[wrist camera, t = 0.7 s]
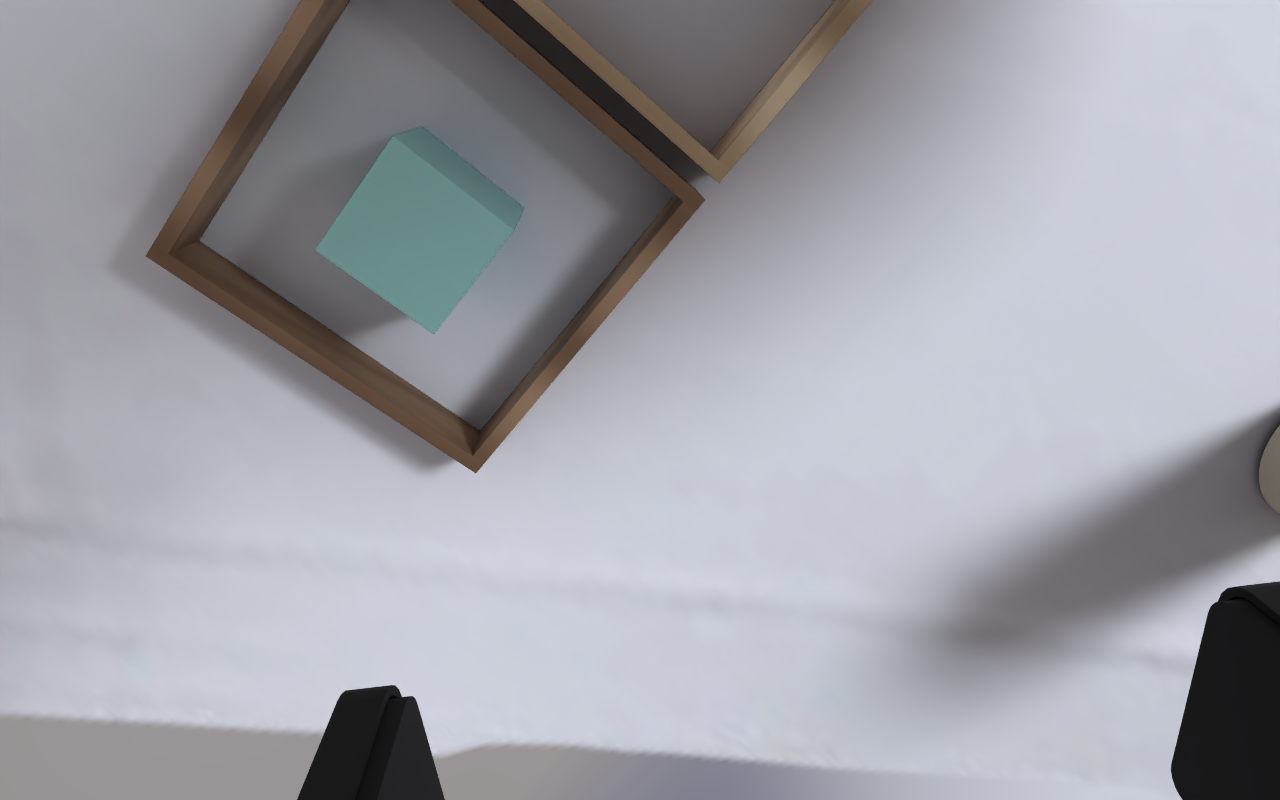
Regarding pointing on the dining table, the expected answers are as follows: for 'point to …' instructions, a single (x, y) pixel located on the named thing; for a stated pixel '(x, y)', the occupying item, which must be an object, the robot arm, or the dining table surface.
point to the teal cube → (420, 227)
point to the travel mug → (1271, 472)
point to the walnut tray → (323, 346)
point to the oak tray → (755, 116)
